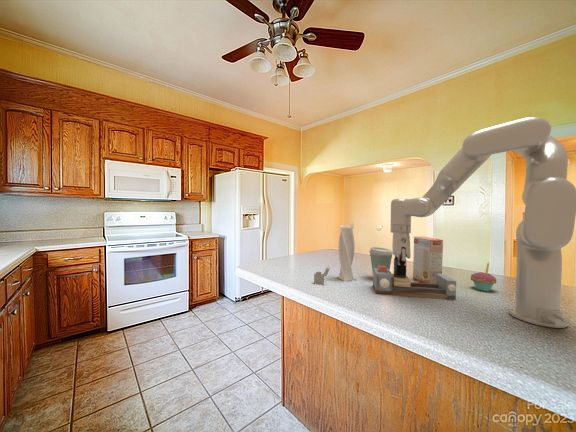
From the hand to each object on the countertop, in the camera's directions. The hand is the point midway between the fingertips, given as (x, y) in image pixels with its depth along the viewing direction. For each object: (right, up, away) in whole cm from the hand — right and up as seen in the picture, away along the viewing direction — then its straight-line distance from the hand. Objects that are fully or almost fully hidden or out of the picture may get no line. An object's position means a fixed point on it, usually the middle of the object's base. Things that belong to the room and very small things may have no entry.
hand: (399, 273), depth 97 cm
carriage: (0, -4, 0) cm, 4 cm away
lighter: (-30, -7, +10) cm, 33 cm away
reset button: (-7, -1, +1) cm, 7 cm away
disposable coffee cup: (-1, -7, +18) cm, 19 cm away
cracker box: (+18, -8, +13) cm, 23 cm away
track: (+4, -7, -1) cm, 9 cm away
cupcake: (+37, -8, +3) cm, 38 cm away
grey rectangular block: (+16, -8, -3) cm, 18 cm away
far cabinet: (-7, -7, +2) cm, 10 cm away
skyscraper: (-17, -8, +17) cm, 26 cm away
